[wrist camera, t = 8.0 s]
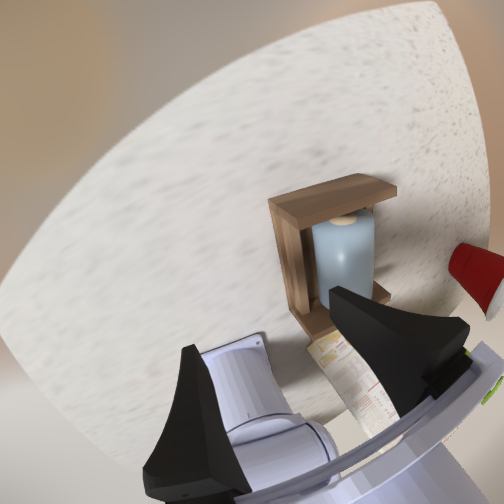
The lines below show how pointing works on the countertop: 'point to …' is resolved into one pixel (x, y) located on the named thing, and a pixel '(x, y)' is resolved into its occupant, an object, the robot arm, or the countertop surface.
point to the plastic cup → (480, 276)
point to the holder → (302, 245)
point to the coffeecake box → (356, 385)
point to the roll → (345, 253)
